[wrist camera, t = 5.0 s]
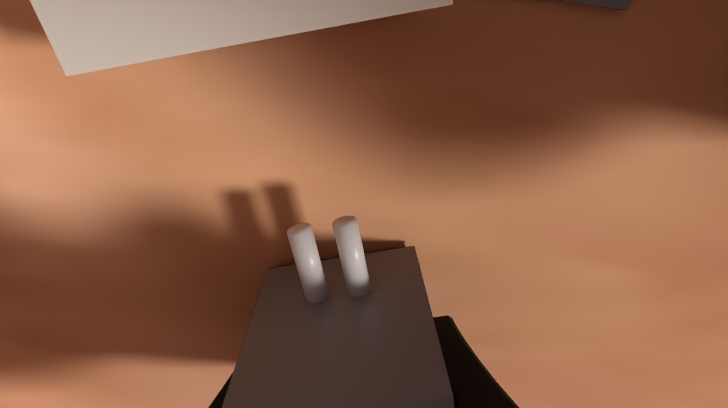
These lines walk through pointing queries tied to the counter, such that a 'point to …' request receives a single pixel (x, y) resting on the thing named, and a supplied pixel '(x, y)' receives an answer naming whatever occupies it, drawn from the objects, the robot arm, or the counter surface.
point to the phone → (604, 3)
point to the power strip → (190, 25)
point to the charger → (341, 332)
